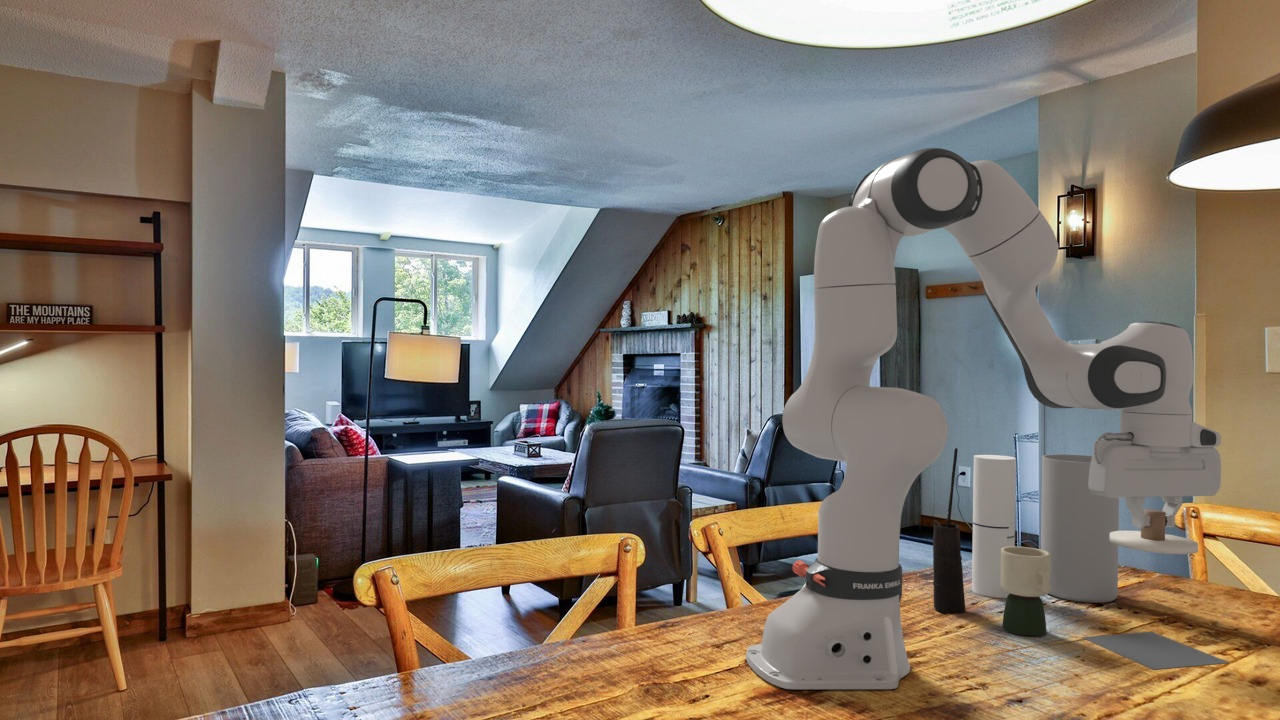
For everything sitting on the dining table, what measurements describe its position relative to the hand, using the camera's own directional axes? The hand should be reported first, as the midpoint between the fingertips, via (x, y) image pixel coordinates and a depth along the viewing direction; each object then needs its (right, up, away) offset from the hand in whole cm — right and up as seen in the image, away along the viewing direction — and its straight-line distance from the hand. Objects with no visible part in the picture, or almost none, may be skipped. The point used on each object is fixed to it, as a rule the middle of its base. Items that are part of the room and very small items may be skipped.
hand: (1153, 526), depth 118 cm
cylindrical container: (-10, -19, +31) cm, 37 cm away
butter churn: (-23, -19, +20) cm, 36 cm away
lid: (0, -3, 0) cm, 3 cm away
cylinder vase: (+5, -19, +30) cm, 36 cm away
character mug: (-15, -19, +8) cm, 25 cm away
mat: (0, -19, 0) cm, 19 cm away
